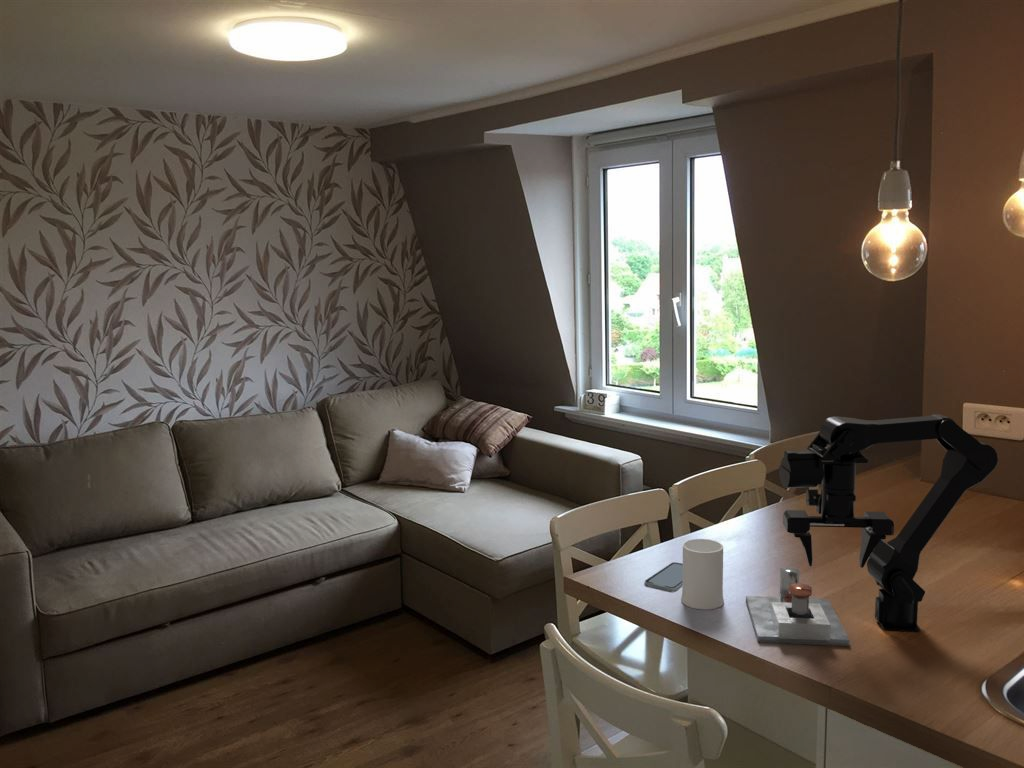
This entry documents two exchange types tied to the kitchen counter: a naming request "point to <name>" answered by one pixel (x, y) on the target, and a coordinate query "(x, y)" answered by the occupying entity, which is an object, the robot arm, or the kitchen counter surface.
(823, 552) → the kitchen counter surface
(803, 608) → the copper-capped peg
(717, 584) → the mug
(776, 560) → the kitchen counter surface
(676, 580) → the smartphone
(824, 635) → the socket base
